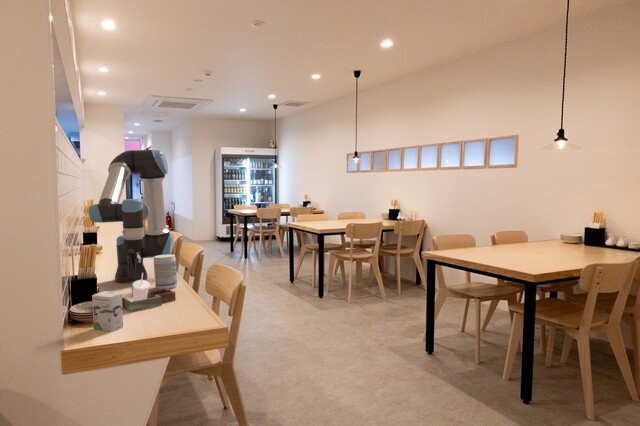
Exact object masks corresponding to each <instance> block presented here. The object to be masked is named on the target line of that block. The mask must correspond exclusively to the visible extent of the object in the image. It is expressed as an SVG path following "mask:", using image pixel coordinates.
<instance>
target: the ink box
mask: <svg viewBox="0 0 640 426" xmlns="http://www.w3.org/2000/svg"><path fill="white" fill-rule="evenodd" d="M122 294H123V293H121V292H116V291H115V292H114V291H107V290H104V291H100V292H98V293H94V294H92V296H91V297H92V319H93V330H95V331H96V330H97V331H101V332H102V331H104V332H110V333H113V332H116V331H118V330H120V329H123V328H124V316H123V307H122V298H123V295H122Z"/></svg>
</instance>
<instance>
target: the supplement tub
mask: <svg viewBox="0 0 640 426" xmlns="http://www.w3.org/2000/svg"><path fill="white" fill-rule="evenodd" d="M153 269H154V283H155V284H154V285H155V289H156V290H159V289H165V288H168V289H170V290H171V289H174V288H176V287H177V286H178V279H177V278H178V276H177V275H178V273H177V259H176V254H172V253H171V254H167V255H158V256H155V257H154V258H153Z"/></svg>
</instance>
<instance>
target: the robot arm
mask: <svg viewBox="0 0 640 426" xmlns="http://www.w3.org/2000/svg"><path fill="white" fill-rule="evenodd" d="M107 171H108V175H107V178H106V180H105V183H104V186H103V190H102V193H101V194H100V197H99V199H98V200H99V201H98V203H94V204H90V206H89V207H88V217H89V220H90V221H91V222H92V223H102V224H104V223H121V222H122V231H121V234H122V235H119V236H117V237H116V245H115V247H116V255H117V256H116V257H117V258H116V259H117V267H116V271H115V274H114V282H116V283H123V284H124V283H125V284H127V283H131V298H133V289H134V287H133V283H134V282H135V281H137V280H141V278H142V273H143V280H147V279H148V277H149V276H148V272H147V270H146V267H145V265H144V259H150V258H151V259H152V258H153V259H154V257H155V256H158V255H167V254H172V251H173V247H174V233H170V229H169V228H168V227H166V226H167V224H166V223H167V222H166V213H165V211H166V209H165V199H164V188H163V180H164V179H165V178H166V175H168V173H169V168H168V161H167V157H166V155H165V152H164V151H162V150H161V149H138V150H137V149H135V150H134V149H130V150H126V151H123V152H121V153H119V154H118V155H117V156H115V157H114V158H113V160H111V162H110V163H109V166H108V169H107ZM132 175H139V179H140V180H141V181H142V182H143V189H144V190H143V191H144V202H145V203H144V202H143V200H142V199H139V198H129V199H123V200H122V201H121V197H122V196H123V195H122V194H123V191H124V189H125V185H126V182H127V179H128V178H130V176H132ZM120 201H121V203H120ZM145 220H146V222H147V223H146V224H147V229H146V230H145V226H144V221H145Z"/></svg>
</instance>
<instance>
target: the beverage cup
mask: <svg viewBox="0 0 640 426" xmlns="http://www.w3.org/2000/svg"><path fill="white" fill-rule="evenodd" d="M150 284H151V283H150V282H149V281H147V279H145V280H143V273H142V278H141V280H137V281H135V282H134V283H133V287H134V289H133V299H132V302H133V301H138V300H143V299H147V294H148V291H149V289H150V286H151V285H150Z"/></svg>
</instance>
